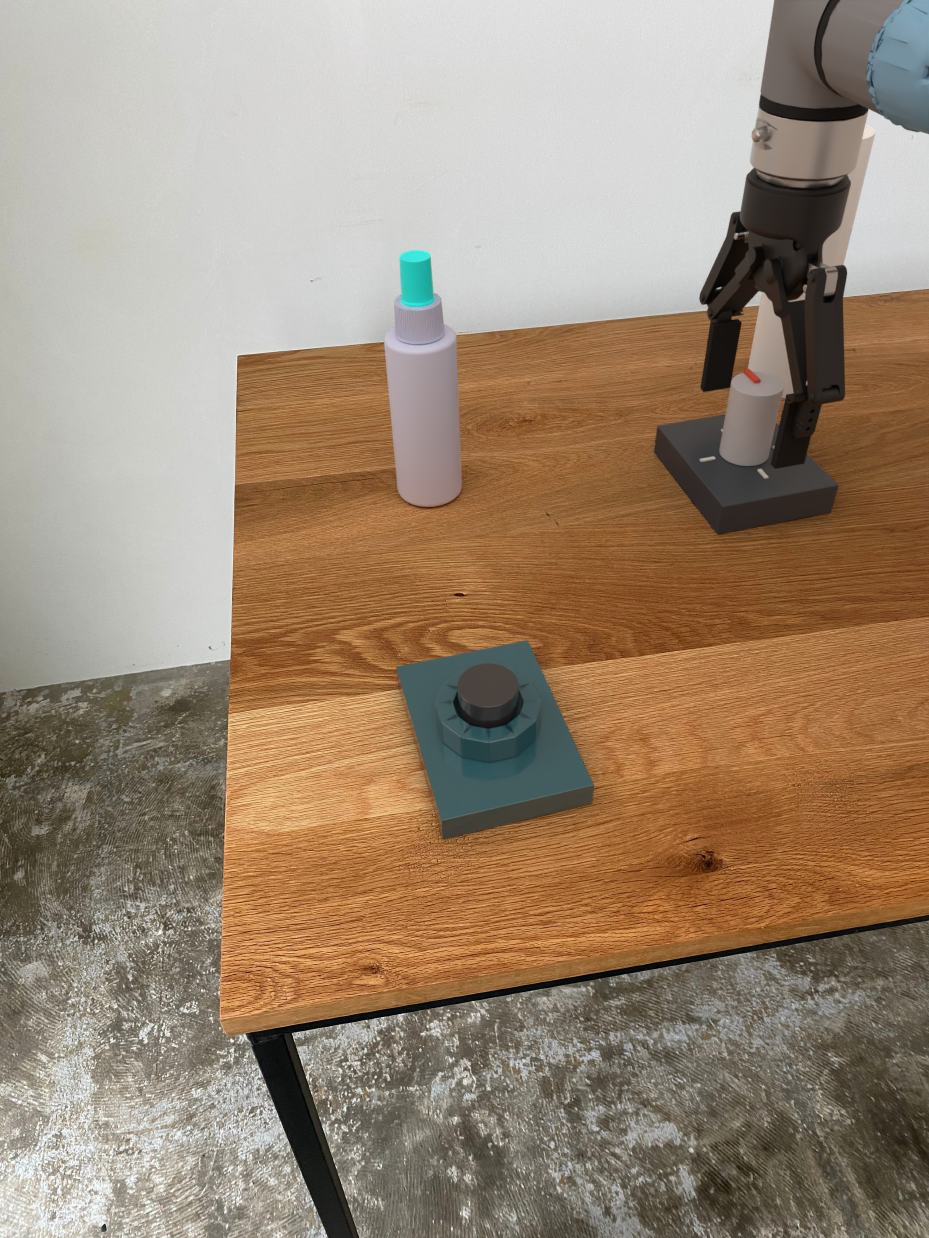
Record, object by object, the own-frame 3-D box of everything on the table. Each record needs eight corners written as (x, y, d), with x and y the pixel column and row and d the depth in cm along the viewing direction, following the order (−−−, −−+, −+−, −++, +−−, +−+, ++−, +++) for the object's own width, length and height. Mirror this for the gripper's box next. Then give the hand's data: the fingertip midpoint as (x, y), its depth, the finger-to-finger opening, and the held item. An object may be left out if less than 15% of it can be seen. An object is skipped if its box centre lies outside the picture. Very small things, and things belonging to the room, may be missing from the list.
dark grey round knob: (525, 721, 61) (526, 699, 60) (466, 734, 61) (466, 712, 59) (508, 679, 64) (508, 657, 63) (452, 691, 64) (450, 669, 62)
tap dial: (777, 461, 84) (794, 388, 79) (732, 469, 83) (746, 396, 78) (754, 437, 87) (769, 365, 82) (710, 444, 87) (723, 372, 82)
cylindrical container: (732, 376, 102) (775, 126, 86) (782, 360, 105) (835, 114, 88) (776, 404, 98) (832, 146, 81) (828, 387, 100) (893, 132, 83)
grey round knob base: (592, 804, 61) (596, 764, 58) (442, 839, 59) (439, 800, 56) (527, 658, 71) (528, 619, 68) (398, 685, 69) (393, 646, 66)
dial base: (831, 513, 83) (839, 483, 81) (717, 534, 81) (723, 504, 79) (756, 434, 93) (762, 406, 91) (653, 452, 92) (657, 423, 89)
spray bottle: (468, 504, 86) (460, 266, 71) (403, 513, 85) (381, 275, 70) (455, 469, 90) (445, 238, 76) (393, 477, 90) (371, 246, 75)
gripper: (681, 131, 77) (654, 366, 92) (846, 237, 59) (780, 509, 74) (764, 122, 79) (724, 355, 93) (950, 222, 61) (865, 493, 75)
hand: (749, 424), depth 83 cm, fingers open, 13 cm apart
